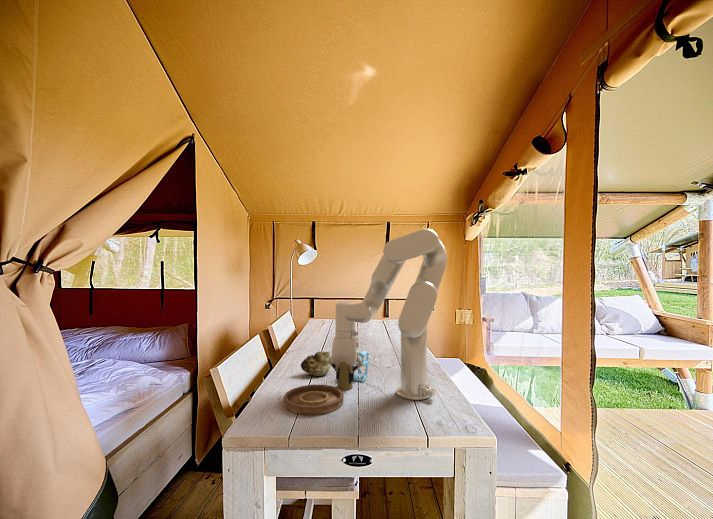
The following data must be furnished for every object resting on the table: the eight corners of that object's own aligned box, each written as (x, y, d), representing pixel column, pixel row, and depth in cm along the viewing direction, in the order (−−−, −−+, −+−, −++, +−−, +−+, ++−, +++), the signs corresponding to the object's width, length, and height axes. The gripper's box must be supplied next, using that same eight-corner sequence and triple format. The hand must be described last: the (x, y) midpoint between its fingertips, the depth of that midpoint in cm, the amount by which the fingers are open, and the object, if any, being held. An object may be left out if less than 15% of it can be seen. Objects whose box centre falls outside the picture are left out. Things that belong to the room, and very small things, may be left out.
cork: (344, 383, 132) (344, 355, 132) (356, 387, 128) (356, 358, 128) (333, 388, 127) (333, 359, 127) (345, 391, 123) (345, 362, 124)
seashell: (314, 369, 151) (314, 347, 151) (335, 373, 145) (335, 350, 145) (299, 375, 142) (299, 352, 142) (320, 380, 136) (320, 355, 136)
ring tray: (355, 402, 113) (355, 395, 113) (307, 421, 99) (307, 413, 99) (319, 387, 128) (319, 380, 128) (272, 402, 114) (273, 394, 114)
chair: (372, 376, 141) (372, 348, 141) (363, 382, 133) (363, 352, 134) (356, 374, 144) (356, 346, 145) (346, 379, 137) (347, 350, 137)
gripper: (368, 333, 129) (368, 381, 129) (328, 331, 134) (328, 377, 133) (363, 337, 122) (363, 387, 122) (321, 334, 127) (321, 383, 126)
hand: (345, 381), depth 128 cm, fingers closed on cork, 4 cm apart
